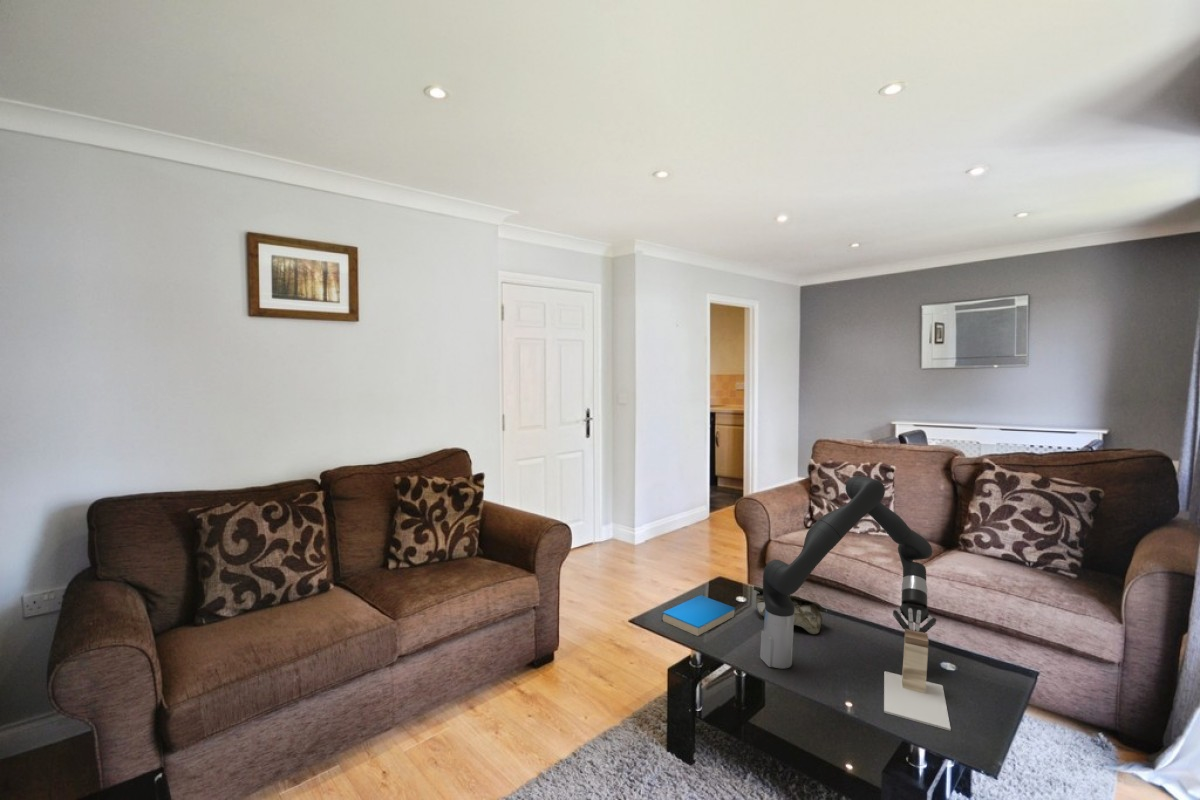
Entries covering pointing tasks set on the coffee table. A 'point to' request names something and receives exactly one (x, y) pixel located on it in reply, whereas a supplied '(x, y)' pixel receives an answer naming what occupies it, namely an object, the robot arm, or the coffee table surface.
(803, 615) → the weathered driftwood
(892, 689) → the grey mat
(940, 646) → the coffee table surface
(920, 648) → the maple block
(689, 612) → the book
